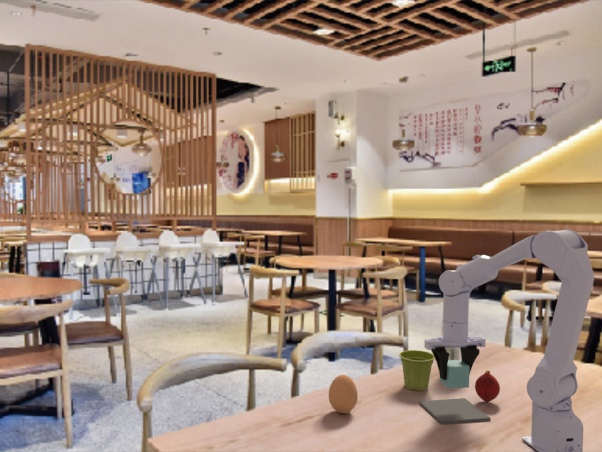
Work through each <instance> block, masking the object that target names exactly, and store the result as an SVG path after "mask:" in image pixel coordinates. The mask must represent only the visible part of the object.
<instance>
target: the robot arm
mask: <svg viewBox="0 0 602 452" xmlns="http://www.w3.org/2000/svg"><path fill="white" fill-rule="evenodd" d="M588 247H589V245H588V243H587V242H586V241H585V240H584V238H583V237H582V236H581V235H580V234H579V233H578V232H576V231H575V230H572V229H561V230H543V231H540V232H539V233H537V234H533V235H529V236H528V237H526V238H524V239H522V240H519V241H518V242H516V243H514V244H513V245H511V246H509V247H506V249H504V250H501V251H499V252H498V253H496V254H494V255H493V256H489V255H486V254H482V255H480V254H477V255H474V256H472V257H471V258H472V260H470V261H468V262H466V263H464V264H462V263H461V264H458V265H457V266H456V269H453V270H452V269H451V270H450V269H447V270H445V271H444V272H442V273H441V275H440V276H439V278H438V286H439V289H440V291H441V292H442V293H443V299H442V302H443V303H442V305H443V306H442V321H443V337H441V336H440V337H436V338H435V337H434V338H429V339H424V349H426V350H427V351H429V350H430V351H431V353H432V354H433V355H434V357H435V359H434V360H435V361H436V365H437V368H438V375H439V379H440V378H442V379H443V380H446V379H447V364H448V359H449V355H450V354H449V353H448V352H446V350H445V348H458V347H460V350H461V358H462V362H464V363H465V364H467V365H468V366H470V368H469V376H470V375H471V371H472V368H473V365H474V364H475V362H476V359H477V358H478V356H479V355H480V352H481V351H480V349H479V348H478V347H480V348H485V347H486V338H484V337H482V336H469V308H470V307H469V306H470V305H469V303H470V299H471V297H470V296H471V292H472V291H473V290H474V289H475V288H477V287H480V286H482V285H484V284H486V283H489V282H491V281H493V280H494V279H496V278H497V276H498V274H499V271H500V270H502V269H505V268H507V267H510V266H512V265H514V264H517V263H519V262H522V261H524V260H526V259H530V260H531V259H532V260H533V259H537V260H538V261H539V262H540V263H542V264H543V265H545V266H546V267H547V268H549V269H550V270H551V271H552V272H554V274H555V275H556V276H557V277H558V279H559V280H560V281H561V285H560V289H559V292H558V296H557V302H556V305H555V309H554V314H553V317H552V322H551V326H550V330H549V334H548V338H547V343H546V347H545V349H544V350H545V351H544V355H543V357H542V358H541V359H540V361H539V362H538V364H537V365H536V367H535V371H534V374H533V375H532V376H531V377H530V378H529V379H528V380H527V383H526V392H527V395H528V397H529V398H530V400H531V401H532V404H531V405H532V406H531V407H532V408H531V432H530V433H531V435H529V436H522V437H521V440H522V441H523V442H525V444H527V445H529V446H530V447H532V449H534V450H535V451H537V452H583V451H584V449H583V446H584V424H583V421H582V420H581V419H580V418H579V416H577V415H576V414H575V412H574V410H573V402H572V397H573V396H574V395H575V394H576V393H577V391H578V386H579V384H578V380H577V371H578V367H577V365H576V364H575V363H574V361H575V356H576V353H577V349H578V345H579V342H580V341H579V340H580V337H581V332H582V329H583V324H584V322H585V321H584V320H585V317H586V314H587V313H586V312H587V310H588V305H589V300H590V299H591V298H590V297H591V293H592V290H593V286H594V282H595V274H594V273H595V272H594V270H593V268H592V267H593V266H592V263H591V259H590V257H589V253H588Z"/></svg>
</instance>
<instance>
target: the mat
mask: <svg viewBox="0 0 602 452" xmlns="http://www.w3.org/2000/svg"><path fill="white" fill-rule="evenodd" d="M419 405H420V406H421V407H422V408H424V410H425V411H427V412H428V414H430V415H431V416H432V417H433V418H434V419H435V420H436V421H437V422H439V424H441V425H448V424H458V423H459V424H460V423H472V422H484V421H492V420H491V417H490V416H489V415H488V414H486V413H485V412H483V410H481V409H480V408H478V407H477V406H476V405H475V404H473V403H472V402H470V401H469V400H468V399H466V398H465V397H462V398H448V399H447V398H446V399H432V400H421V401H419Z"/></svg>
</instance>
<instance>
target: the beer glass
mask: <svg viewBox="0 0 602 452" xmlns="http://www.w3.org/2000/svg"><path fill="white" fill-rule="evenodd" d="M440 337H443V320H442V321H441V330H440ZM445 350H446V352H448V353H449V354H450V355H449V359H448V360H460V361H462V358H461V350H460V347H458V348H445Z"/></svg>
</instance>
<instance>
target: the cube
mask: <svg viewBox="0 0 602 452" xmlns="http://www.w3.org/2000/svg"><path fill="white" fill-rule="evenodd" d="M469 368H470V366H468V365H467V364H465V363H464V362H462V361H460V360H448V364H447V379H446V380H443V379H442V378H440V377H439V381H438V382H440V383H441V384H442V385H444V386H445V387H446V388H447V389H464V388H465V389H466V388H467V389H468V388H470V375H469Z"/></svg>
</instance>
